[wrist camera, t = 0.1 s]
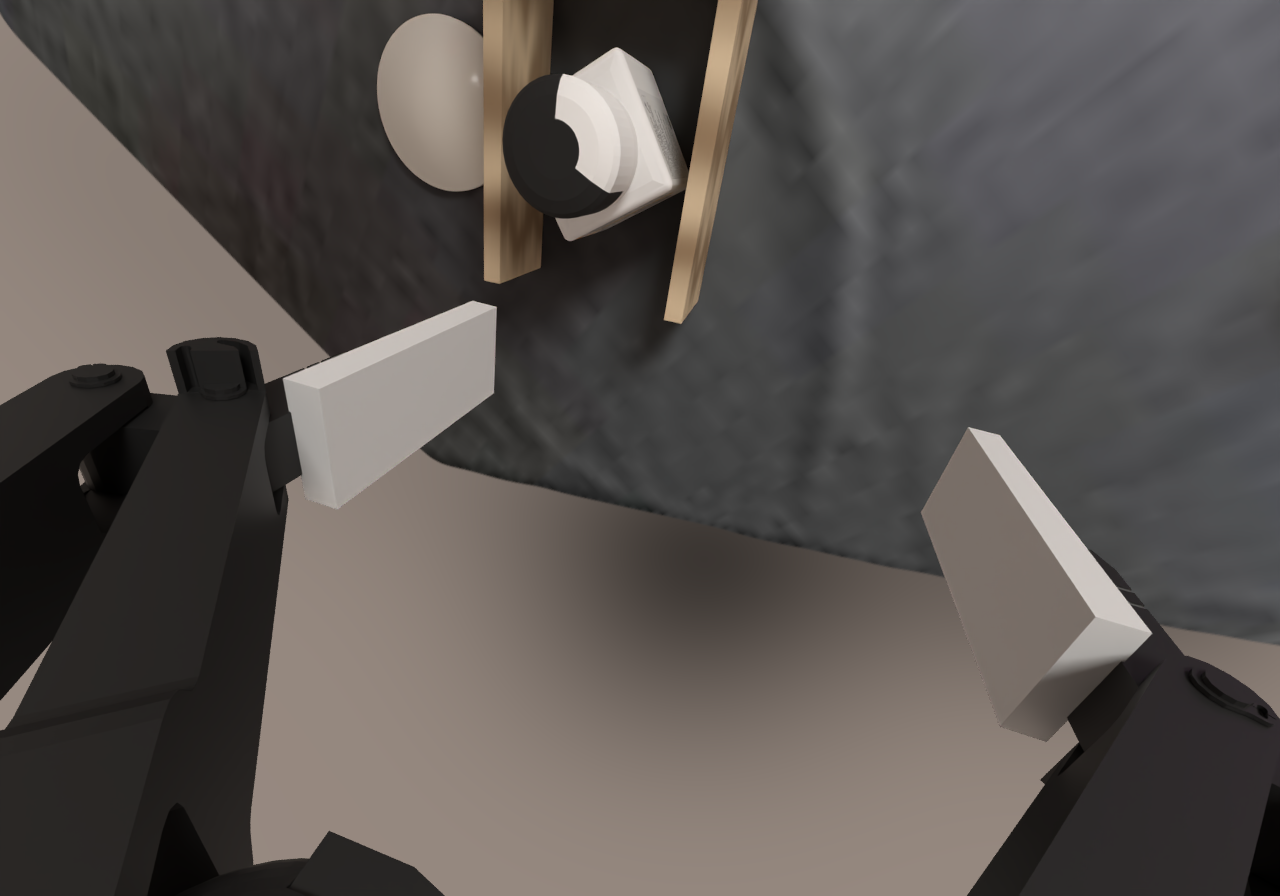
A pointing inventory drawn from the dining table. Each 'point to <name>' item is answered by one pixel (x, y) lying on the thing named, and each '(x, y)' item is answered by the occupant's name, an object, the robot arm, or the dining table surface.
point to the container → (593, 145)
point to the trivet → (435, 100)
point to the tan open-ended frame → (524, 54)
